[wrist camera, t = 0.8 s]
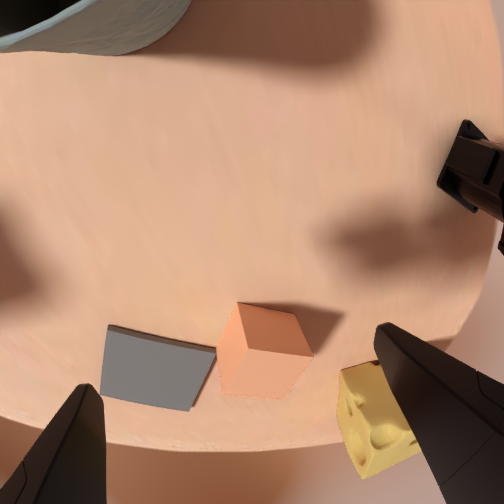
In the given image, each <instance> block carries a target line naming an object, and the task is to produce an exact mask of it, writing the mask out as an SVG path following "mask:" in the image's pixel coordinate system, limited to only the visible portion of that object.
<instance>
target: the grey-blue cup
mask: <svg viewBox="0 0 504 504" xmlns="http://www.w3.org/2000/svg"><path fill="white" fill-rule="evenodd" d="M190 3H191V0H0V53H10V52H22V51H47V52H58V53H77V54H89V55H100V56H114V55H121V54H126V53H130V52H133V51H136V50H139V49H141V48H143V47H147V46H149V45H150V44H151V43H153V42H155V41H156V40H158V39H160V38H161V37H162V36H164V35H165V34H166V33H167V32H169V31H170V30H171V29H172V28H173V27H174V26H175V25H176V24H177V23H178V21H179V20H180V19H181V18H182V17H183V15H184V14H185V12H186V10H187V9H188V7H189V5H190Z"/></svg>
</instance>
